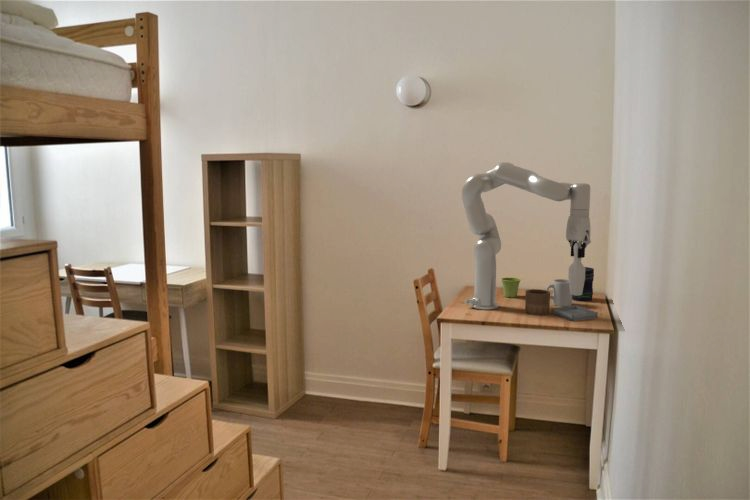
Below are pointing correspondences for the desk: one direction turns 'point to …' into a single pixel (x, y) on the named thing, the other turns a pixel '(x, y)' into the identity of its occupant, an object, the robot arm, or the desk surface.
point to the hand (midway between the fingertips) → (577, 256)
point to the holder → (537, 302)
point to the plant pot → (510, 286)
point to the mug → (560, 292)
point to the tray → (574, 313)
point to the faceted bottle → (576, 274)
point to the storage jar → (586, 287)
